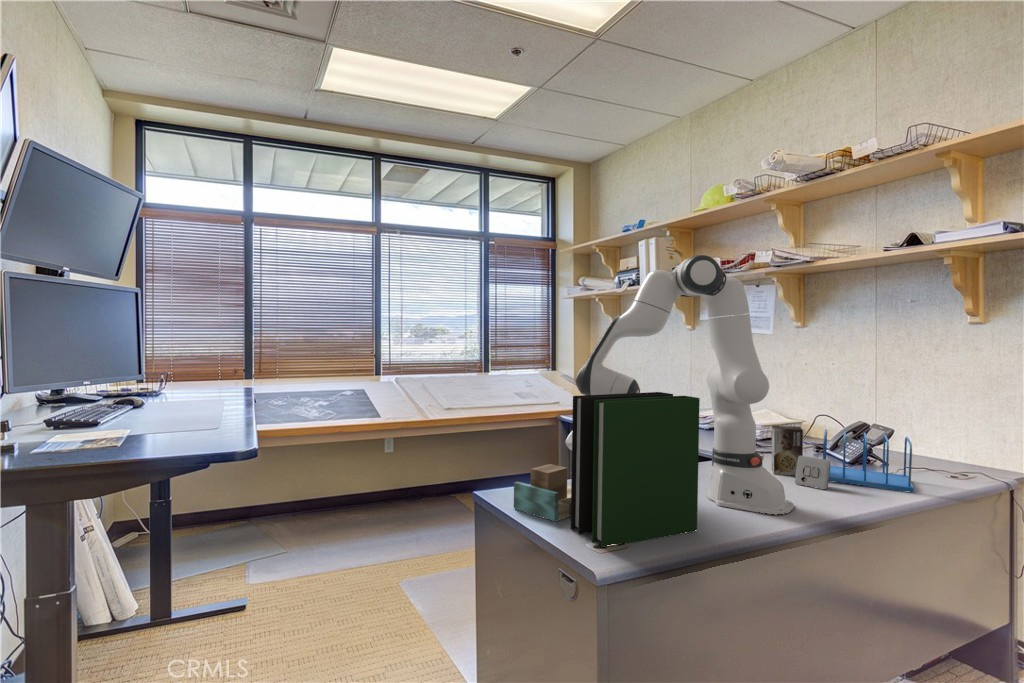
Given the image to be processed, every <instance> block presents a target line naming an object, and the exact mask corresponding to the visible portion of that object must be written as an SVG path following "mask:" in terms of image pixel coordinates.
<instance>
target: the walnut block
mask: <svg viewBox="0 0 1024 683" xmlns="http://www.w3.org/2000/svg"><path fill="white" fill-rule="evenodd" d="M530 485H533V486H536V487H540V488H544V489H548V490H551V491H555V492H559V500H562V499H564V498H567V485H568V467H565V466H561V465H556V464H552V463H549V464H544V465H542V466H540V465H539V466H537V467H533V468H530Z"/></svg>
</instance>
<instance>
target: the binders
mask: <svg viewBox="0 0 1024 683" xmlns="http://www.w3.org/2000/svg"><path fill="white" fill-rule="evenodd" d="M700 400H701V399H700V397H698V396H697V397H695V396H688V395H674V394H673V393H670V392H661V391H653V392H652V391H650V392H648V391H647V392H640V393H625V394H603V395H583V394H581V395H572V427H571V428H572V429H571V431H572V450H571V484H570V486H571V516H570V530H571V529H572V530H575V528H577V529H578V530H577V531H578V532H577V534H578V535H583V533H584V534H588V533H591V543H593V542H594V543H599V542H600V548H601V547H603V546H607V545H611V544H619V543H627V544H632V543H638V542H644V541H649V539H650V540H655V539H654V538H656V539H660V538H659V537H661V538H665V537H664V536H667V537H670V536H669V535H673V536H676V534H678V535H681V534H680V533H684V534H686V533H685V532H690V531H695V530H697V531H698V508H699V507H698V500H699V499H698V498H699V497H698V496H699V449H700V448H699V447H700V446H699V445H700V443H699V442H700V404H701V403H700V402H701V401H700ZM695 532H696V531H695ZM690 533H691V532H690ZM598 541H599V542H598Z"/></svg>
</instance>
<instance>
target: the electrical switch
mask: <svg viewBox="0 0 1024 683" xmlns="http://www.w3.org/2000/svg"><path fill="white" fill-rule="evenodd" d="M830 466H832V465H831V460H829V459H826V460H825V459H823V458H818V457H811V456H805V455H803V456H799V457H798V462H797V469H796V476H794V477H795V479H794V482H795V484H796V485H798V484H799V485H798V486H802V485H805V486H804V487H807V486H811V487H810V488H812V487H817V488H821V489H826V490H827V489H828V488H827V487H829V474H830ZM817 488H816V489H817ZM821 489H820V490H821Z"/></svg>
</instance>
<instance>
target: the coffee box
mask: <svg viewBox="0 0 1024 683" xmlns="http://www.w3.org/2000/svg"><path fill="white" fill-rule="evenodd" d="M803 439H804V429H803V428H802V427H801V426H797V425H796V426H794V425H793V426H792V425H775V424H772V425H771V465H770V466H771V468H770V469H771V473H772V475H778V474H779V475H778V476H791V475H794V477H796V469H797V462H798V457H799V456H804V454H803V451H804V448H803V447H804V446H803V445H804V442H803V441H804V440H803Z"/></svg>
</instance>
